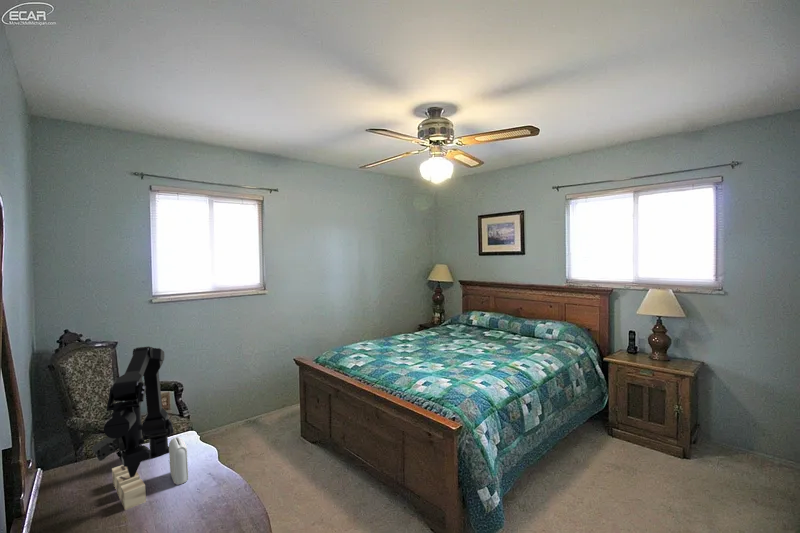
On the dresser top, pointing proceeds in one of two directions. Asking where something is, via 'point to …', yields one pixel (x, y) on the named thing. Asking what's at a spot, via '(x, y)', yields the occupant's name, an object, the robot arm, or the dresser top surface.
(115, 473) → the block one
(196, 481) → the dresser top surface
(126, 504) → the plain block
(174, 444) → the white rounded slab
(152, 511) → the dresser top surface
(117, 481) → the block seven
